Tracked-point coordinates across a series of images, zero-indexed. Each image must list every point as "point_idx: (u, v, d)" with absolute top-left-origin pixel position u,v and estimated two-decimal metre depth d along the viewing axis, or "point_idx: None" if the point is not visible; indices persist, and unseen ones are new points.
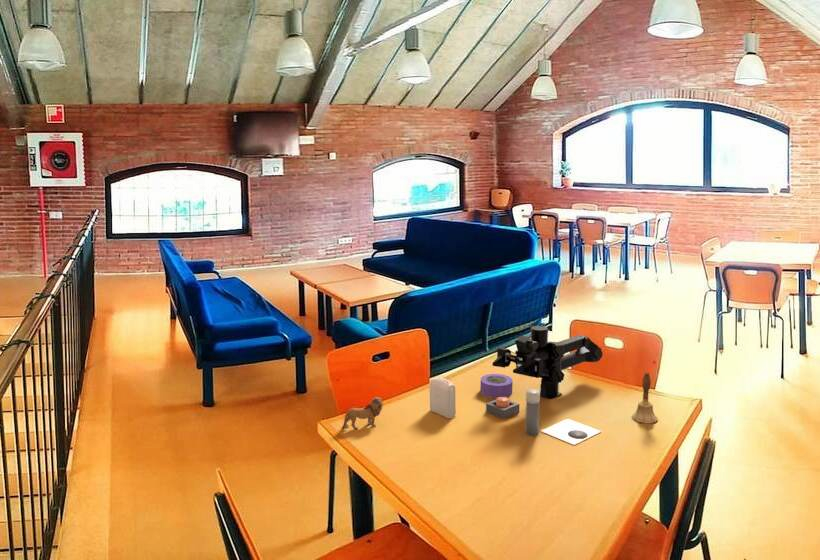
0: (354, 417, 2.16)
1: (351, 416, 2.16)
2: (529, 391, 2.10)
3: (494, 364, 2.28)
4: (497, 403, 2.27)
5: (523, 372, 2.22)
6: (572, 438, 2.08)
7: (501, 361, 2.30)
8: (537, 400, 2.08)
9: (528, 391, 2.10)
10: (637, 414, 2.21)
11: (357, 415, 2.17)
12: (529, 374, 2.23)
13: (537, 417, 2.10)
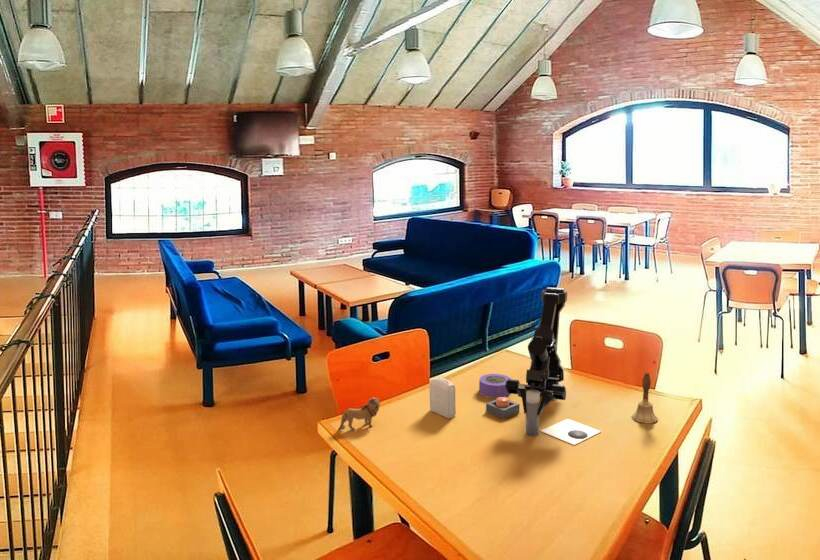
0: (351, 418, 2.16)
1: (348, 417, 2.16)
2: (529, 391, 2.10)
3: (525, 411, 2.11)
4: (497, 403, 2.27)
5: (544, 406, 2.11)
6: (572, 438, 2.08)
7: None
8: (537, 400, 2.08)
9: (528, 391, 2.10)
10: (637, 414, 2.21)
11: (354, 415, 2.16)
12: (548, 401, 2.13)
13: (537, 417, 2.10)
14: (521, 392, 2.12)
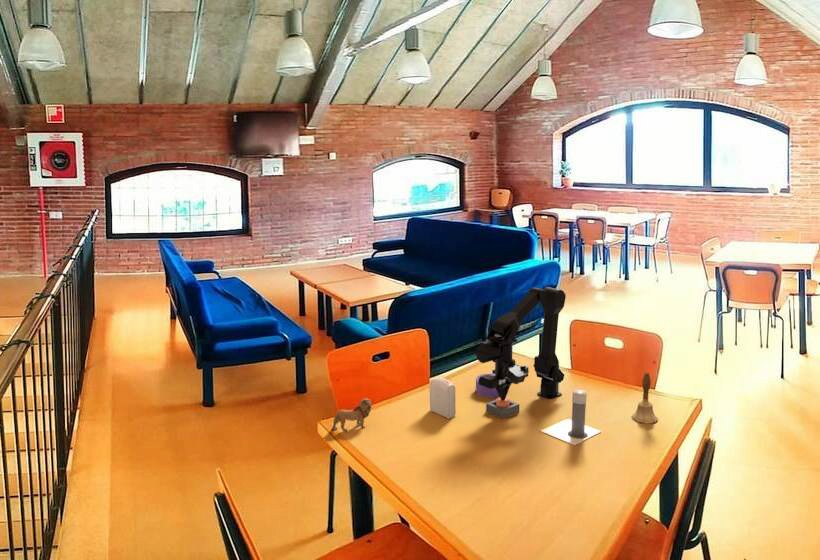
0: (343, 419, 2.15)
1: (340, 418, 2.15)
2: (575, 392, 2.07)
3: None
4: (497, 403, 2.27)
5: None
6: (572, 438, 2.08)
7: None
8: (585, 400, 2.07)
9: (575, 392, 2.07)
10: (637, 414, 2.21)
11: (346, 417, 2.15)
12: None
13: (584, 417, 2.08)
14: (504, 386, 2.24)
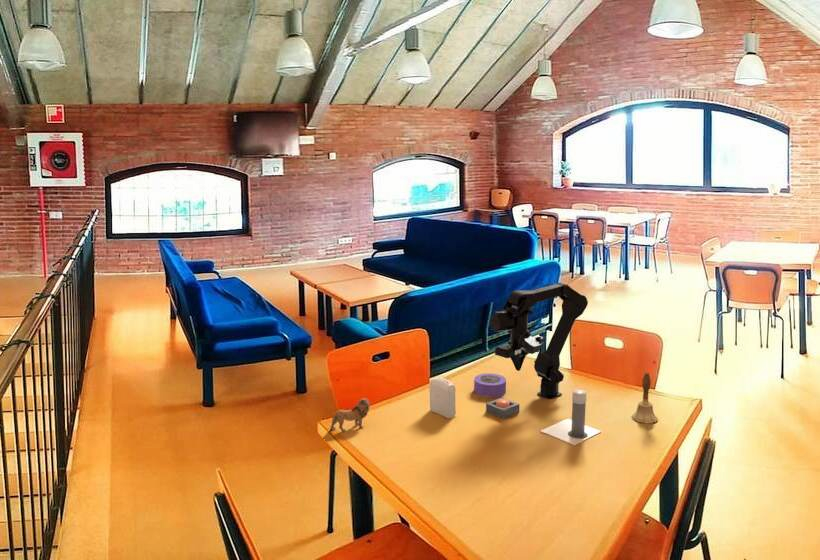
0: (342, 419, 2.15)
1: (339, 418, 2.15)
2: (575, 392, 2.07)
3: None
4: (497, 405, 2.27)
5: None
6: (572, 438, 2.08)
7: None
8: (585, 400, 2.07)
9: (574, 392, 2.07)
10: (637, 414, 2.21)
11: (345, 417, 2.15)
12: None
13: (584, 417, 2.08)
14: (519, 356, 2.30)
